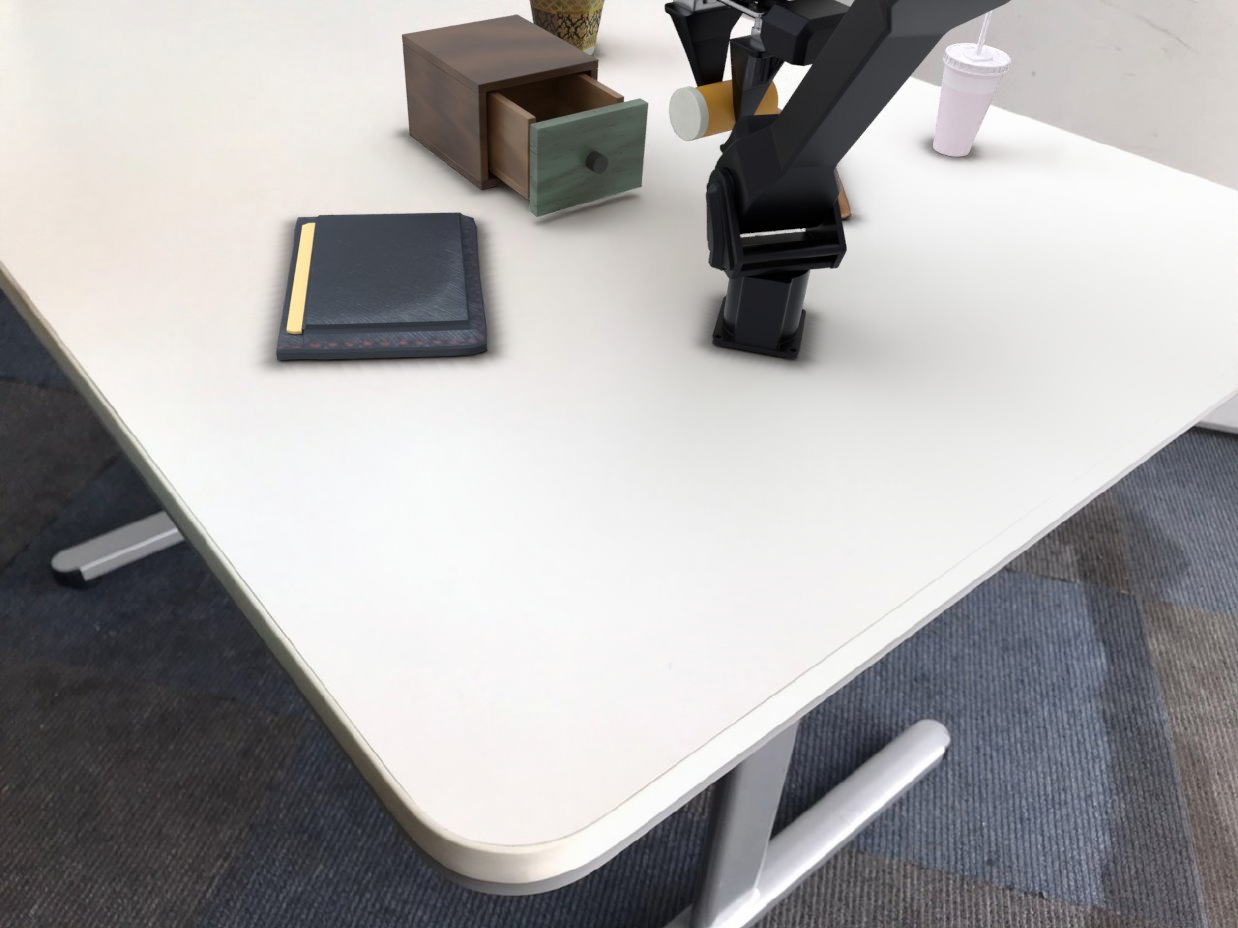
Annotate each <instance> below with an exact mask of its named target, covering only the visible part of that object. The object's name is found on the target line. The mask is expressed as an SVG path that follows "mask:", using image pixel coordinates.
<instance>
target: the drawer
mask: <svg viewBox="0 0 1238 928" xmlns="http://www.w3.org/2000/svg"><path fill="white" fill-rule="evenodd" d="M486 109H487V148H488V170H489V171H490V172H491V173H493V174H494V175H495V176H497V177H498V178H499V179H501V180H502V181H503V182H505V184H506V185H507V186H509V187H510V188H511V189H512V190H514V191H516V192H517V193H518V194H519V195H521V196H522V197H523V198H524V199H526V200H529V212H530V213H531V214H532V215H534V216H535V217H537V218H539V217H542V216H545V215H549V214H553V213H556V212H559V211H562V210H566V209H570V208H573V207H576V206H580V205H584V204H587V203H590V202H593V201H598V200H600V199H604V198H607V197H610V196H614V195H619V194H621V193H625V192H627V191H632V190H634V189H635V190H636V189H639V188H642V186H643V177H644V176H643V175H644V164H645V163H644V162H645V151H646V150H645V149H646V137H647V126H648V125H647V124H648V115H649V114H648V113H649V102H648V101H646V100H645V99H643V98H635V99H631V100H627V101H625V96H624V95H622V94H621V93H619V92H617V91H616V90H614V89H613V88H610V87H609V86H607V85H605V84H604V83H602V82H600V81H599V80H598V81H597V80H595V79H593V78H592V77H590V76H588V75H586V74H585V73H583V72H578V73H573V74H569V75H564V76H559V77H555V78H550V79H545V80H540V81H536V82H531V83H526V84H522V85H517V86H512V87H508V88H503V89H498V90H493V91H489V92H486Z"/></svg>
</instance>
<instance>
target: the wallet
mask: <svg viewBox="0 0 1238 928" xmlns="http://www.w3.org/2000/svg"><path fill="white" fill-rule="evenodd" d="M293 230H294V231H293V241H292V242H293V243H292V251H291V257H290V262H289V263H290V264H289V268H288V269H289V270H288V275H287V283H286V287H285V288H286V289H285V294H284V295H285V296H284V301H283V307H282V313H281V314H282V315H281V319H280V326H279V332H278V339H277V344H276V350H275V355H276V360H277V361H286V360H289V361H290V360H351V359H352V360H353V359H355V360H356V359H360V360H361V359H389V358H391V359H392V358H420V357H421V358H422V357H423V358H424V357H425V358H426V357H451V356H453V357H454V356H472V355H476V354H479V353H482V352H486V351H488V333H487V331H488V328H487V319H486V311H485V310H486V309H485V303H484V295H483V288H482V281H481V272H480V259H479V247H478V227H477V224H476V221H475V218H474V217H472V216H469V215H465V214H464V213H461V212H414V213H413V212H412V213H411V212H410V213H409V212H407V213H406V212H405V213H363V214H362V213H361V214H360V213H359V214H358V213H357V214H355V213H353V214H319V215H318V216H298V217H297V219H296V223H295V227H294V229H293Z"/></svg>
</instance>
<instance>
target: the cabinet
mask: <svg viewBox="0 0 1238 928" xmlns="http://www.w3.org/2000/svg"><path fill="white" fill-rule="evenodd" d="M401 42H402V54H403V55H402V56H403V67H404V80H405V81H404V83H405V93H406V94H405V96H406V106H407V118H408V119H407V120H408V131H409V132H408V133H409V136H411V137H412V138H413V139H414V140H416V141H417V142H419V143H420V144H421V145H423V146H424V147H425V148H426V149H428V150H429V151H430V152H431V153H433V154H434V155H435V156H437V157H438V158H439V159H441V161H443V162H445V163H446V164H447V165H449V166H450V167H451V168H452V169H454V170H455V171H456V172H457V173H459V174H460V175H462V177H464V178H465V179H467V180H468V181H469V182H470V183H472V184H473V185H475V186H476V187H477V188H478V189H479V190H481V191H482V190H486V189H491V188H494V187H497V186H502V185H505V184H506V183H505V182H503V181H502V180H501V179H499V178H498V177H497V176H495V175H494V174H493V173H491V172H490V171H489V170H488V148H487V109H486V92H489V91H493V90H498V89H503V88H508V87H512V86H517V85H522V84H526V83H531V82H536V81H540V80H545V79H550V78H555V77H559V76H564V75H569V74H573V73H578V72H583V73H585V74H586V75H588V76H590V77H592V78H593V79H595V80H597V81H598V82H599V79H598V78H599V59H598V58H596V57H594V56H593V55H589V54H587V53H585V52H584V51H582V50H580V49H578V48H576V47H575V46H573V45H571V44H569V43H568V42H566V41H564V40H562V39H560V38H559V37H557V36H555V35H553V34H551V33H550V32H548V31H546V30H544V29H542V28H541V27H539V26H537V25H535V24H534V23H533V21H530V20H528V19H526V18H524V17H523V16H521V15H519V14H510V15H505V16H501V17H494V18H488V19H483V20H477V21H471V22H466V23H460V24H454V25H453V24H452V25H449V26H441V27H437V28H430V29H425V30H420V31H419V30H418V31H414V32H409V33H408V32H407V33H403V34H401Z"/></svg>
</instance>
